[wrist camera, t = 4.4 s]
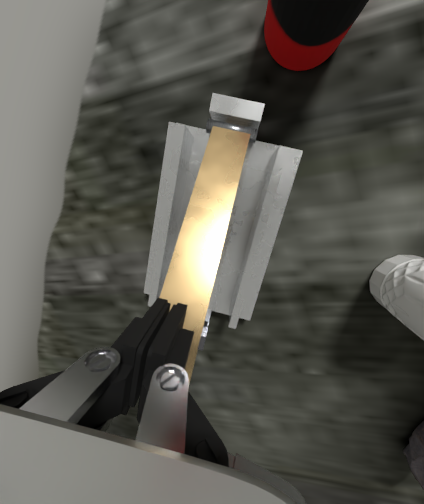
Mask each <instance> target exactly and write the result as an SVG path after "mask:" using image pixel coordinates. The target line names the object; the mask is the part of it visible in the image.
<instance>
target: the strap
mask: <svg viewBox="0 0 424 504" xmlns="http://www.w3.org/2000/svg"><path fill="white" fill-rule="evenodd" d="M206 133H209V134H210V137H209V140H208V143H207V146H206V150H205V153H204V156H203V159H202V163H201V166H200V169H199V172H198V175H197V179H196V182H195V185H194V188H193V191H192V195H191V198H190V201H189V204H188V208H187V211H186V214H185V217H184V220H183V224H182V227H181V230H180V233H179V236H178V240H177V243H176V246H175V249H174V252H173V256H172V259H171V262H170V265H169V269H168V272H167V275H166V278H165V281H164V285H163V288H162V291H161V294H160V297H159V298H162V299H166V300H168V303H170V304H171V305H170V310H171V308H172V306H173V304H175V305H177V303H182V304H186V305H187V310H186V315H185V320H184V324H183V329H187V330H191V331H194V335H193V339H192V344H191V348H190V352H189V356H188V360H187V363H186V367H185V371H186V372H187V374H188V378H189V383H190V378H191V374H192V370H193V366H194V362H195V358H196V354H197V350H198V346H199V342H200V338H201V334H202V330H203V326H204V322H205V317H206V313H207V309H208V305H209V301H210V297H211V293H212V289H213V285H214V281H215V277H216V273H217V269H218V265H219V261H220V256H221V252H222V248H223V244H224V240H225V236H226V232H227V228H228V224H229V220H230V216H231V212H232V208H233V204H234V200H235V195H236V191H237V187H238V183H239V179H240V175H241V171H242V167H243V163H244V159H245V155H246V151H247V147H248V143H249V142H250V143H255V141H256V137H257V133H258V129H255V128H250V127H245V126H241V125H236V124H231V123H227V122H222V121H217V120H213V119H208V121H207V126H206ZM169 312H170V311H169ZM188 387H189V385H188Z"/></svg>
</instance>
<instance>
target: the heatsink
mask: <svg viewBox="0 0 424 504" xmlns="http://www.w3.org/2000/svg"><path fill="white" fill-rule="evenodd" d="M264 106H265V104H263V103H259V102H254V101H249V100H244V99H239V98H235V97H230V96H225V95H220V94H215V93H213V94H212V99H211V105H210V110H209V111H210V115H211V118H212V119H213V120H217V121H222V122H227V123H231V124H236V125H241V126H245V127H250V128H255V129H258V127H259V124H260V121H261V117H262V113H263V109H264ZM209 137H210V134H209V133H206V130H205V129H200V128H196V127H191V126H187V125H184V124H180V123H173V122H169V125H168V132H167V139H166V145H165V152H164V159H163V166H162V173H161V179H160V186H159V193H158V200H157V206H156V213H155V220H154V227H153V234H152V240H151V247H150V254H149V261H148V268H147V274H146V281H145V288H144V293H145V294H149V301H148V306H150V307H151V306H152V305H153V303H154V302H155V301H156V300H157V298H159V297H160V294H161V291H162V288H163V285H164V281H165V278H166V275H167V272H168V269H169V265H170V262H171V259H172V256H173V252H174V249H175V246H176V243H177V240H178V236H179V233H180V230H181V227H182V224H183V220H184V217H185V214H186V211H187V208H188V204H189V201H190V198H191V195H192V191H193V188H194V185H195V182H196V179H197V175H198V172H199V169H200V166H201V163H202V159H203V156H204V153H205V150H206V146H207V143H208V140H209ZM302 152H303V151H302V150H297V149H292V148H289V147H285V146H281V145H280V146H279V145H274V144H269V143H265V142H260V141H255V143H250V142H249V143H248V147H247V151H246V155H245V159H244V163H243V167H242V171H241V175H240V179H239V183H238V187H237V191H236V195H235V200H234V204H233V208H232V212H231V216H230V220H229V224H228V228H227V232H226V236H225V240H224V244H223V248H222V252H221V256H220V261H219V265H218V269H217V273H216V277H215V281H214V285H213V289H212V293H211V297H210V301H209V305H208V309H207V313H206V317H205V322H204V326H203V330H202V334H201V338H200V342H199V346H198V349H200V350H203V347H204V343H205V339H206V335H207V330H208V325H209V320H210V316H211V311H215V312H219V313H223V314H226V315H229V325H228V327H231V328H234V329H236V326H237V323H238V319H239V318H242V319H246V320H250V319H251V315H252V312H253V309H254V306H255V303H256V299H257V296H258V293H259V290H260V287H261V283H262V280H263V277H264V274H265V271H266V267H267V264H268V261H269V258H270V255H271V251H272V248H273V245H274V242H275V239H276V236H277V232H278V229H279V226H280V223H281V220H282V216H283V213H284V210H285V207H286V204H287V200H288V197H289V194H290V191H291V188H292V184H293V181H294V178H295V175H296V172H297V168H298V165H299V162H300V159H301V156H302Z"/></svg>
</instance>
